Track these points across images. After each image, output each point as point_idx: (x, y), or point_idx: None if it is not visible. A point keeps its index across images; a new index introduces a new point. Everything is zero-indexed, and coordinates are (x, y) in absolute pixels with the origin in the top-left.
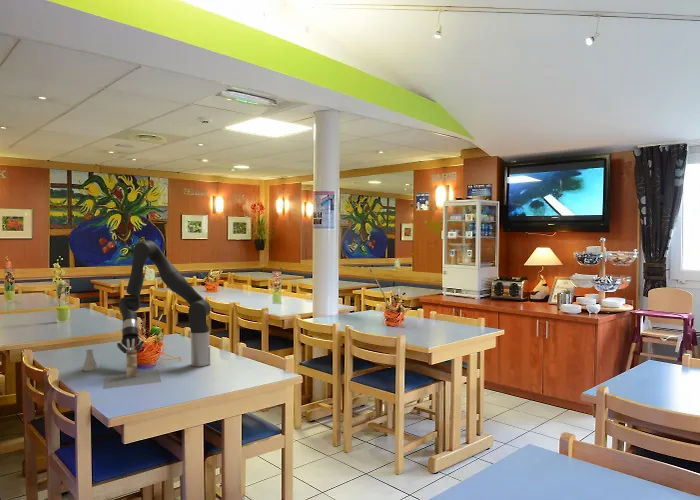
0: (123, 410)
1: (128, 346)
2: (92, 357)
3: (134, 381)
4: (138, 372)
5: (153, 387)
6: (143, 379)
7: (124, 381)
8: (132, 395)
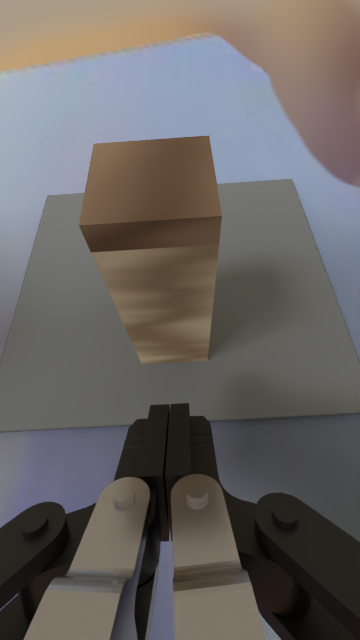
0: (190, 53)
1: (215, 578)
2: None
3: None
4: (127, 410)
5: None
6: None
7: None
8: (170, 116)
